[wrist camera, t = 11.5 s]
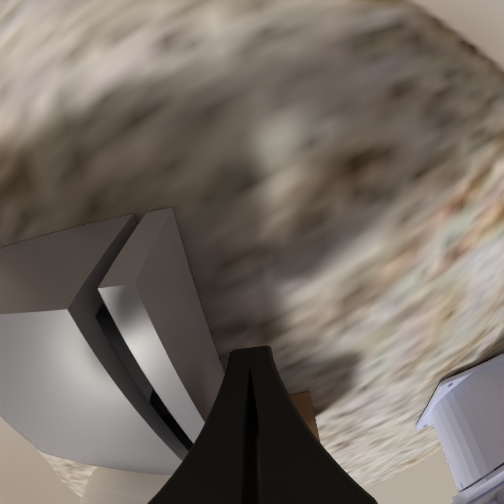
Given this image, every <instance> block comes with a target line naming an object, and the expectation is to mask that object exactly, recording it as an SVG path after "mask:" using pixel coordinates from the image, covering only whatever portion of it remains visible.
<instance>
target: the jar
mask: <svg viewBox="0 0 504 504" xmlns="http://www.w3.org/2000/svg"><path fill="white" fill-rule="evenodd" d="M171 476H172V475H161V474H149V473H140V472H131V471H124V470H117V469H111V468H105V467H99V466H98V467H97V468H96V469H95V471H94V472H93V473H92V475H91V477H90V479H89V481H88V483H87V485H86V488H85V492H84V494H83V496H82V498H81V500H80V502H79V504H147V503H148V502H149V501H150V500H151V499H152V498H153V497H154V496H155V495H156V494H157V493H158V492H159V491H160V489H161V488H162V487H163V486H164V484H165V483H166V482H167V481H168V480H169V478H170V477H171Z"/></svg>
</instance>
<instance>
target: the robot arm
mask: <svg viewBox="0 0 504 504" xmlns="http://www.w3.org/2000/svg"><path fill="white" fill-rule="evenodd" d="M430 425H433V426H434V428H435V431H436V433H437V436H438V438H439V441H440V443H441V446H442V448H443V451H444V453H445V456H446V458H447V461H448V464H449V466H450V469H451V472H452V475H453V477H454V480H455V483H456V486H457V489H458V492H461V491H463V490H465V489H466V490H465V491H463V492H461V493H460V494H458V495H456V496H454V497H453V498H452V499H453V503H452V504H504V353H503V354H501V355H499V356H497V357H495V358H493V359H491V360H488V361H486V362H484V363H482V364H480V365H478V366H476V367H473V368H471V369H469V370H467V371H464V372H462V373H460V374H457V375H455V376H452V377H450V378H447V379H445V380H443V381H442V382H441V383H440V384H439V385H438V387H437V389H436V391H435V393H434V395H433V397H432V399H431V400H430V402H429V404H428V406H427V407H426V409H425V411H424V413H423V414H422V416H421V418H420V419H419V421H418V423H417V424H416V426H415V428H416V430H420V429H423V428H425V427H428V426H430ZM467 488H468V489H467ZM147 504H378V503H377V501H376V500H375V499H374V498H373V497H372V496H371V495H370V494H369V493H367V492H366V491H365V490H364V489H363V488H362V487H361V486H360V485H358V484H357V483H356V482H355V481H354V480H353V479H352V478H351V477H350V476H349V475H348V474H347V473H346V472H345V471H344V470H343V469H342V468H341V467H340V465H339V464H338V463H337V462H336V461H335V460H334V459H333V458H332V456H331V455H330V454H329V453H328V452H327V451H326V450H325V448H324V447H323V446H322V445H321V443H320V442H319V441H318V439H317V438H316V437H315V435H314V434H313V433H312V431H311V430H310V428H309V427H308V426H307V424H306V423H305V421H304V420H303V418H302V417H301V415H300V413H299V412H298V410H297V408H296V407H295V405H294V403H293V402H292V400H291V398H290V396H289V394H288V392H287V390H286V388H285V386H284V384H283V382H282V380H281V378H280V376H279V373H278V371H277V368H276V366H275V363H274V360H273V356H272V351H271V347H269V346H260V347H253V348H245V349H237V350H232V351H231V352H230V357H229V361H228V365H227V368H226V372H225V375H224V378H223V381H222V384H221V387H220V389H219V392H218V394H217V397H216V400H215V402H214V404H213V407H212V409H211V411H210V413H209V415H208V417H207V420H206V422H205V424H204V426H203V428H202V430H201V432H200V433H199V435H198V437H197V439H196V440H195V442H194V444H193V446H192V447H191V449H190V450H189V452H188V453H187V455H186V456H185V458H184V460H183V461H182V463H181V464H180V465H179V467H178V468H177V469H176V471H175V472H174V473H173V475H172V476H171V477H170V478H169V480H168V481H167V482H166V483H165V484H164V486H163V487H162V488H161V489H160V491H159V492H158V493H157V494H156V495H155V496H154V497H153V498H152V499H151V500H150V501H149V502H148V503H147Z"/></svg>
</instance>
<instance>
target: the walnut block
mask: <svg viewBox="0 0 504 504" xmlns="http://www.w3.org/2000/svg"><path fill="white" fill-rule="evenodd" d="M289 396H290V398H291V400H292V402H293V403H294V405H295V407H296V408H297V410H298V412H299V413H300V415H301V417H302V418H303V420H304V421H305V423H306V424H307V426H308V427H309V428H310V430H311V431H312V433H313V434H314V435H315V437H316V438H317V439H318V441H319V442H320V439H319V434H318V429H317V424H316V419H315V414H314V409H313V405H312V400H311V395H310V392H305V393H299V394H293V395H289Z"/></svg>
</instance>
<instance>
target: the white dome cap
mask: <svg viewBox="0 0 504 504" xmlns="http://www.w3.org/2000/svg"><path fill="white" fill-rule="evenodd" d="M95 318H96V319H97V321H98V323H99V325H100V327H101V328H102V330H103V332H104V334H105V335H106V337H107V339H108V340H109V342H110V344H111V345H112V347H113V349H114V350H115V352H116V354H117V355H118V357H119V358H120V360H121V362H122V363H123V365H124V366H125V368H126V369H127V371H128V372H129V374H130V375H131V377H132V378H133V380H134V381H135V383H136V384H137V386H138V387H139V389H140V390H141V391H142V393H143V394H144V396H145V397H146V398H147V400H148V401H149V402H150V397H151V392H152V388H153V386H152V385H151V383H150V382H149V380H148V379H147V377H146V375H145V374H144V372H143V371H142V369H141V367H140V366H139V364H138V362H137V361H136V359H135V357H134V356H133V354H132V352H131V351H130V349H129V347H128V345H127V344H126V342H125V340H124V338H123V337H122V335H121V333H120V331H119V329H118V327H117V326H116V324H115V322H114V320H113V318H112V316H111V314H110V312H109V311H107V310H104V309H101V308H99V310H98V312H97V314H96V316H95Z"/></svg>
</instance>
